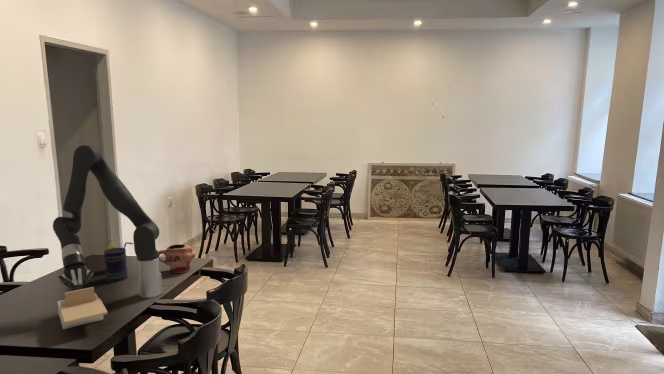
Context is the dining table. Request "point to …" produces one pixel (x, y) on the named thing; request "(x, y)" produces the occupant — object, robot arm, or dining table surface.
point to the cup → (115, 247)
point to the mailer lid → (81, 305)
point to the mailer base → (80, 322)
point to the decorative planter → (178, 257)
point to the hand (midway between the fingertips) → (79, 294)
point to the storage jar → (115, 264)
